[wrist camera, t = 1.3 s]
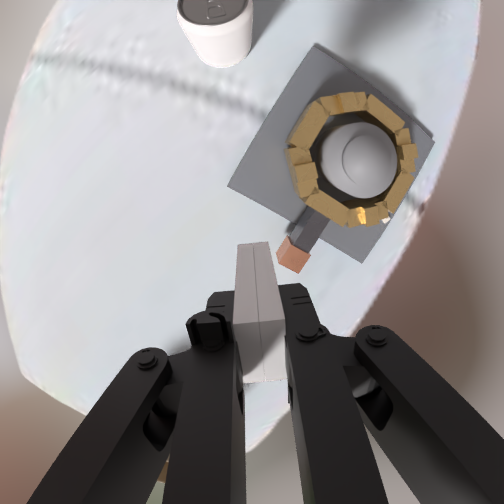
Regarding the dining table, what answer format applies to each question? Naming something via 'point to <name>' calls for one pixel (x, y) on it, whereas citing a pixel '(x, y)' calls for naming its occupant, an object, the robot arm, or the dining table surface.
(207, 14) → the can
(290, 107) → the base
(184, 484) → the robot arm
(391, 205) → the ring nut
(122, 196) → the dining table surface
